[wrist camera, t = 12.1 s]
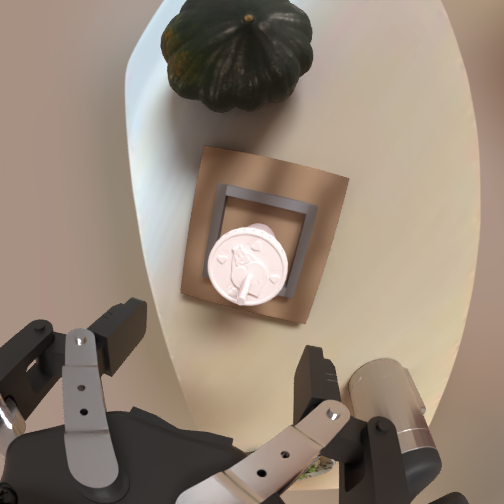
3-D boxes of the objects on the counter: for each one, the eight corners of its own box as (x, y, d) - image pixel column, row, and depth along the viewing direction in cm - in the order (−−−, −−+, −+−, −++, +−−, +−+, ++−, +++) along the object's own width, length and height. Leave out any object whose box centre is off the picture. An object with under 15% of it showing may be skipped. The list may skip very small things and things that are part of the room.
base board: (345, 177, 30) (352, 178, 26) (304, 316, 35) (306, 330, 32) (208, 146, 30) (200, 144, 27) (185, 286, 36) (176, 298, 33)
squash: (155, 7, 21) (116, 27, 12) (281, -27, 19) (327, -29, 10) (194, 96, 32) (186, 161, 24) (303, 68, 30) (346, 122, 22)
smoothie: (243, 274, 32) (214, 345, 19) (220, 223, 31) (173, 264, 18) (295, 256, 31) (301, 320, 18) (274, 202, 30) (265, 229, 16)
